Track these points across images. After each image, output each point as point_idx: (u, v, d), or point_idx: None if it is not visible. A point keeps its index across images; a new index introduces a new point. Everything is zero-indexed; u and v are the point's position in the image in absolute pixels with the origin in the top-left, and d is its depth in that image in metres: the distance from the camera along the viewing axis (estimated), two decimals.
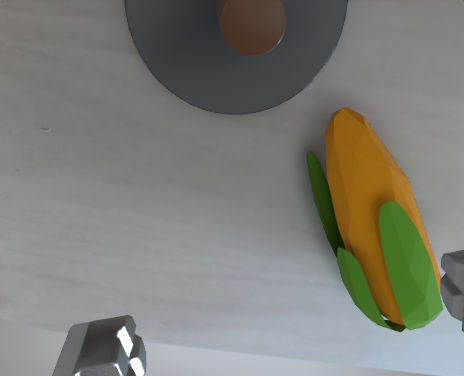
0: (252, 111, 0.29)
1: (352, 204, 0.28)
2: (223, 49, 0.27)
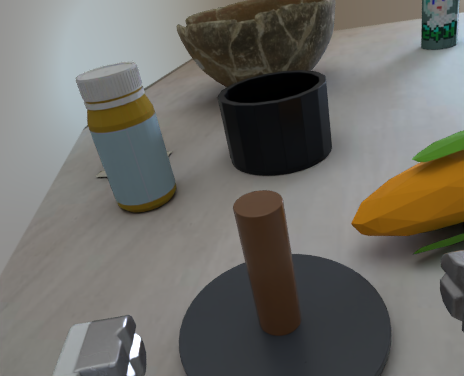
0: (380, 299, 0.27)
1: (434, 187, 0.30)
2: (320, 326, 0.26)
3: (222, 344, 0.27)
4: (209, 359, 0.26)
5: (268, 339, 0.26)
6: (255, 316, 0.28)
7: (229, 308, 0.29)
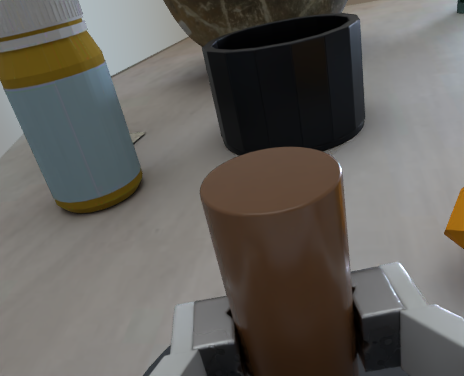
0: None
1: None
2: None
3: None
4: None
5: None
6: None
7: None
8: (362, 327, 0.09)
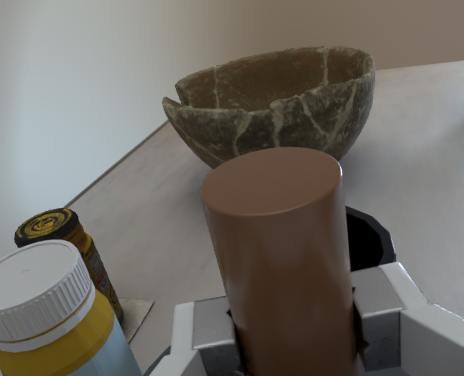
0: None
1: None
2: None
3: None
4: None
5: None
6: None
7: None
8: (362, 327, 0.09)
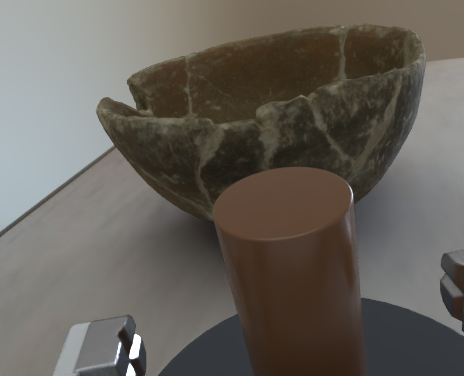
0: None
1: None
2: None
3: None
4: None
5: None
6: None
7: None
8: None
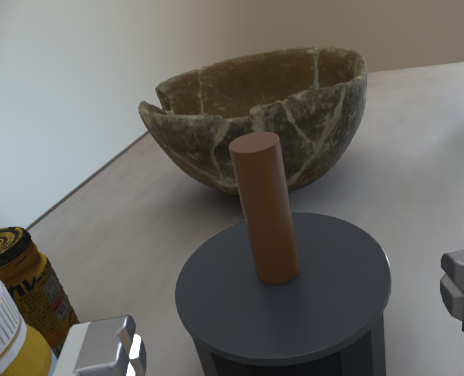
0: (380, 248, 0.27)
1: None
2: (318, 275, 0.26)
3: (219, 294, 0.26)
4: (205, 308, 0.25)
5: (266, 288, 0.26)
6: (253, 268, 0.28)
7: (226, 262, 0.29)
8: None
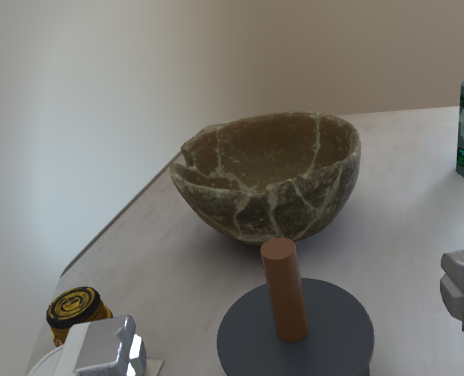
0: (367, 315, 0.37)
1: None
2: (322, 335, 0.36)
3: (250, 349, 0.36)
4: (241, 360, 0.35)
5: (284, 345, 0.36)
6: (274, 327, 0.38)
7: (253, 321, 0.39)
8: None
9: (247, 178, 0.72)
